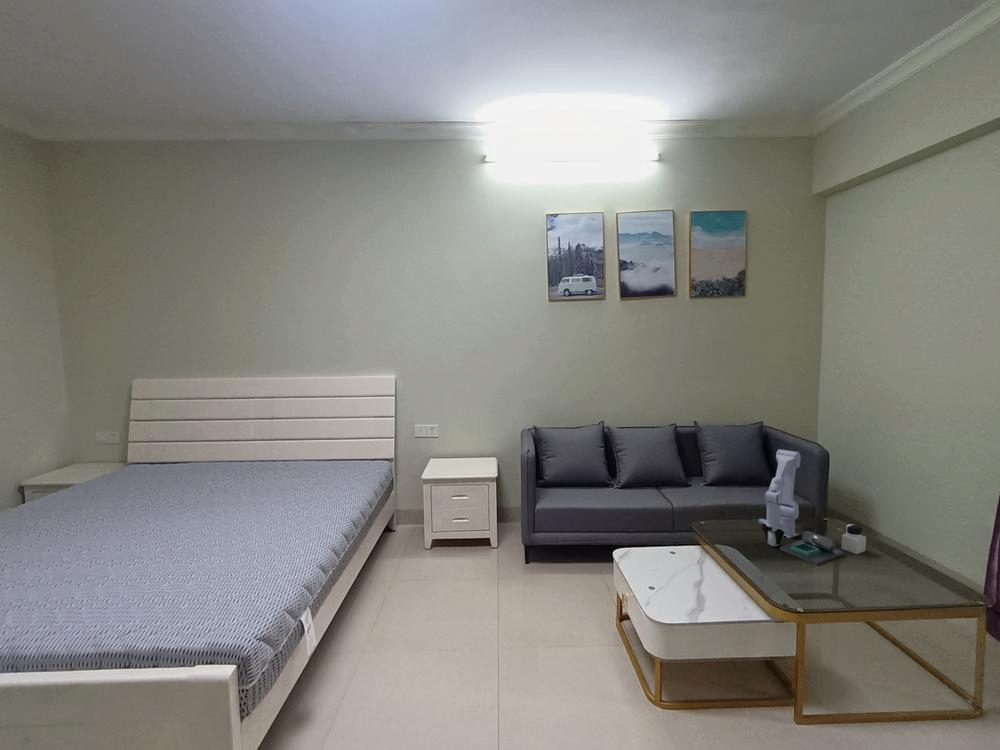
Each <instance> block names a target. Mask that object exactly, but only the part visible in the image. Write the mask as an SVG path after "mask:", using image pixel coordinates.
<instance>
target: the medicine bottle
mask: <svg viewBox="0 0 1000 750" xmlns="http://www.w3.org/2000/svg"><path fill="white" fill-rule="evenodd" d="M862 530H863V529H862V527H861V526H860V525H858V524H855V523H853V524H852V523H849V524H847V525H846V526H845V531H846V532H845V533H843V534H841V550H844V551H847V552H850V553H853V554H854V555H858V554H861V553H865V551H866V550H867V549H866V547H867V536H865V535H862V534H863V531H862Z"/></svg>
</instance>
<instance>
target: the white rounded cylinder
mask: <svg viewBox="0 0 1000 750" xmlns="http://www.w3.org/2000/svg"><path fill="white" fill-rule="evenodd" d="M774 531H775V530H773V529H771V530H768V540H767V545H768V544H769V545H768V546H770V545H771V546H770V547H774V546H775V547H779V545H780V544H776V536H775V532H774Z"/></svg>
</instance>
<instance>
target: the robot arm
mask: <svg viewBox="0 0 1000 750" xmlns="http://www.w3.org/2000/svg"><path fill="white" fill-rule="evenodd" d="M801 457H802V456H801V453H800V452H799V451H793V450H787V449H780V448H779V449H777V451H776V454H775V460H776V462H777V467H776V468H777V469H776V472H775V477H772V479H771V481H770V485H769V488H768V490H766V492H765V494H764V501H765V506H766V519H764V518H759V519H758V523H759V524H761V527H760V528H761V529H762V531H763V533H764V536H765V540H766V541H768V530H775V531H774V532H775V536H776V544H779V545H780V544H781V541H782V539H783V537H784V536H786V537H787V538H786V537H785V538H786V539H791V538H794V537H796V536H799V533H797V532H795V531H796V529H795V528H796V527H795V525H796V524H795V521H796V519H798V518H799V515H800V510H799V504H798V503H797V502H796V501H795V500H794V491H795V490H794V489H795V481H796V480H795V479H796V471H797V469H799V468H800V466H801ZM783 535H784V536H783Z"/></svg>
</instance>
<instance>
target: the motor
mask: <svg viewBox="0 0 1000 750" xmlns="http://www.w3.org/2000/svg"><path fill="white" fill-rule="evenodd" d="M800 538H801V539H800V540H796V541H794V542H791V543H788V544H784V545H783V546H780V547H779V551H781V552H784V553H786V554H789V555H790V556H794V557H796V558H798V559H800V560H803V561H805V562H808V563H810V564H813V565H815V566H819V565H821V564H824V563H827V562H829V561H831V560H834V559H837V558H840V557H843V556H845V551H843V550H840V549H837V548H836V541H835V540H834V539H831V538H829V537H825V536H822V535H819V534H818V533H817V534H816V533H814V532H811V531H808V530H807V531H803V532H802V533H801V537H800Z"/></svg>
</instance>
